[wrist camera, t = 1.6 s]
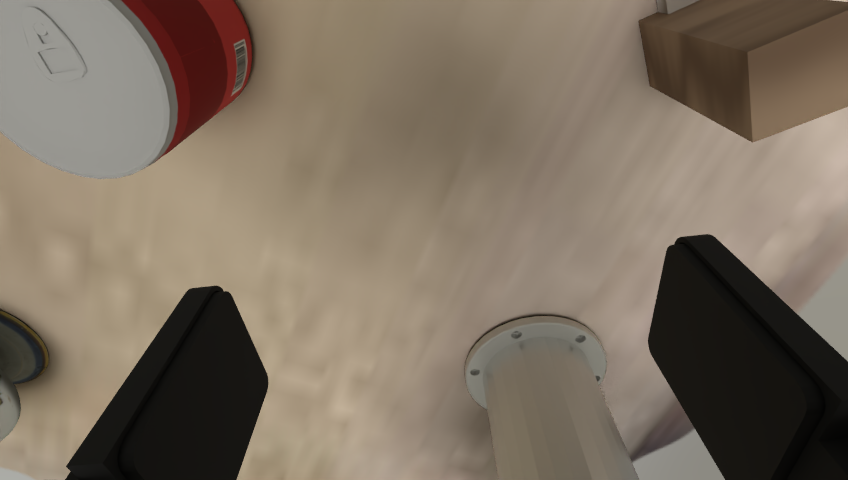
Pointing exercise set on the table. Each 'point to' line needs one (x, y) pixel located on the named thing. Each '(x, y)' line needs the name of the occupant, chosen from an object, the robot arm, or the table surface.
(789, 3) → the brown wooden block
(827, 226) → the table surface
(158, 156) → the canned food
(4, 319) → the apothecary jar
